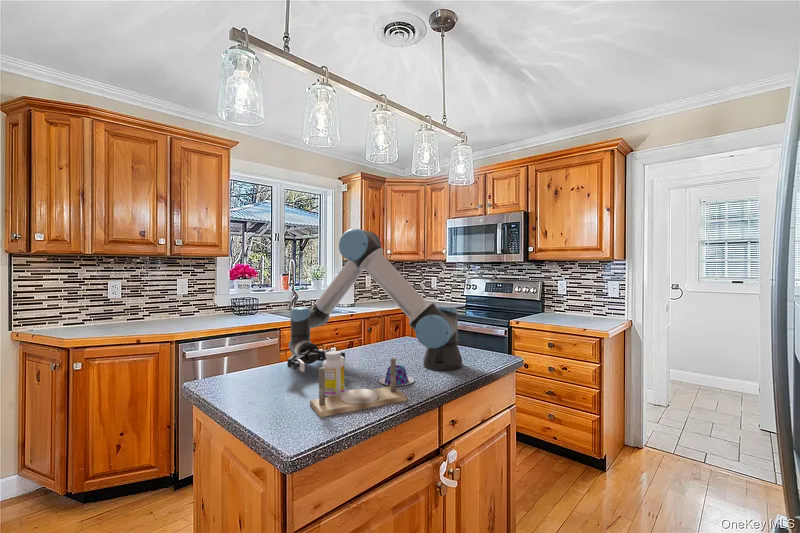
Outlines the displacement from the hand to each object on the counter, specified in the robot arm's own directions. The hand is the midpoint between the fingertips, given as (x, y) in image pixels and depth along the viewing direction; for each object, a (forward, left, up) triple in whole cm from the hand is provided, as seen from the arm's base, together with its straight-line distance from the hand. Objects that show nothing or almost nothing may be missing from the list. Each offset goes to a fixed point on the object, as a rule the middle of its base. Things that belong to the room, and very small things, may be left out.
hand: (324, 364), depth 130 cm
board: (-4, +20, -7) cm, 22 cm away
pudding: (-23, +7, -7) cm, 25 cm away
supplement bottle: (0, +9, -7) cm, 12 cm away
